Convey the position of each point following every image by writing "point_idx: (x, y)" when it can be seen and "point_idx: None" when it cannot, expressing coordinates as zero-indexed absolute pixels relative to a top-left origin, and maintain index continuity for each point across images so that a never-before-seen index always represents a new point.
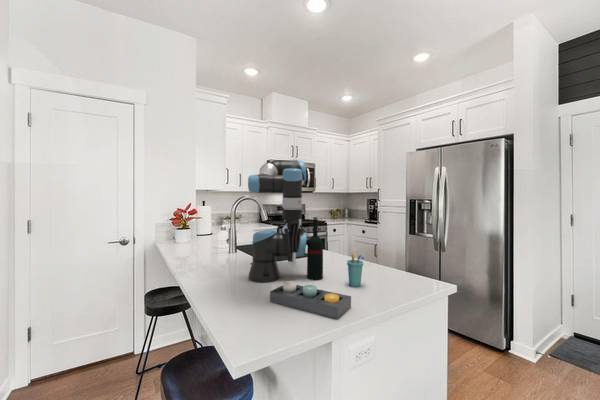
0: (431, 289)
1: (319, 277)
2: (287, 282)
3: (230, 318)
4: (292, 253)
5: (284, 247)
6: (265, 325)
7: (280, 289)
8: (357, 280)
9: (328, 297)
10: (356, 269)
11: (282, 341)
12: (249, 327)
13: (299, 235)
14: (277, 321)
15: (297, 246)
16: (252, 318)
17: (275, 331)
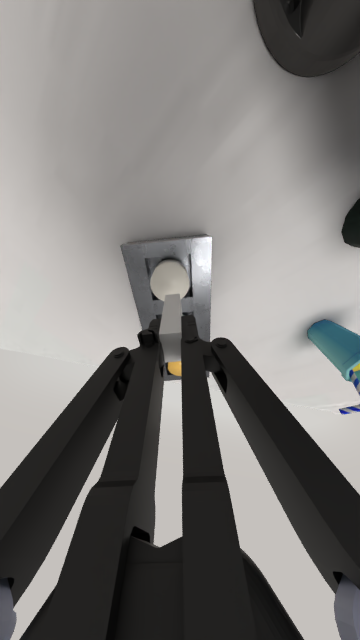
0: (323, 404)
1: (355, 245)
2: (169, 276)
3: (2, 237)
4: (164, 355)
5: (96, 377)
6: (60, 311)
7: (155, 256)
8: (317, 346)
9: (171, 367)
10: (336, 364)
11: (60, 351)
12: (31, 296)
13: (267, 470)
14: (85, 316)
15: (215, 379)
16: (49, 275)
17: (65, 332)
